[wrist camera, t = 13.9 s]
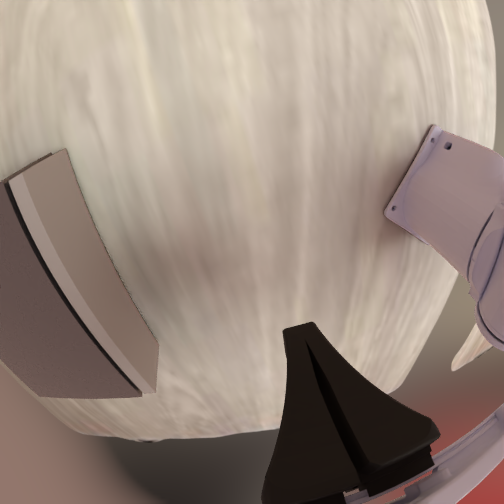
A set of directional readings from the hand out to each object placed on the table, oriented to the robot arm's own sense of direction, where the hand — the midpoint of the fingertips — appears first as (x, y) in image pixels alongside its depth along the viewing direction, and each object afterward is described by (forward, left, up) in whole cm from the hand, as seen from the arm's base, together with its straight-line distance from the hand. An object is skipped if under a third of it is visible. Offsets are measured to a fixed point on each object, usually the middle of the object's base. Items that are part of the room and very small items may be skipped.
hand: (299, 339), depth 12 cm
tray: (+10, -14, -10) cm, 20 cm away
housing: (+11, -15, -10) cm, 22 cm away
